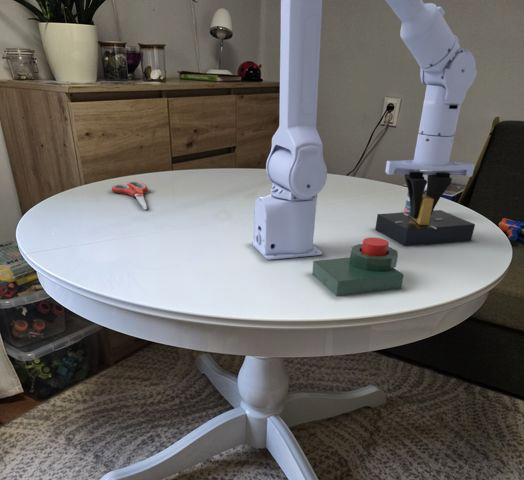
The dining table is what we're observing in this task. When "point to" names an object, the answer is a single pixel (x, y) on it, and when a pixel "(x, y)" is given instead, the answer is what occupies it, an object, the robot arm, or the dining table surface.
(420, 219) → the tan wooden brick
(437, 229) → the dark gray flat block
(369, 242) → the button
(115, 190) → the scissors
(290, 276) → the dining table surface
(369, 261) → the button box
